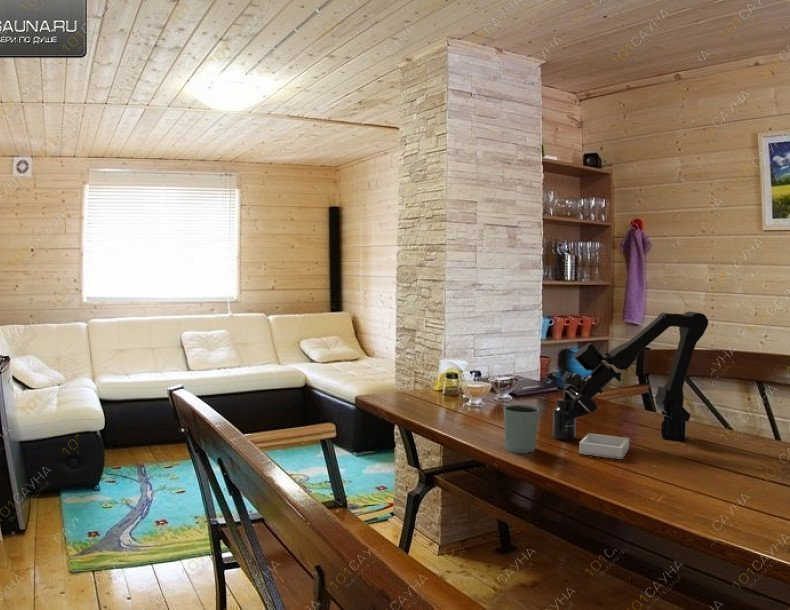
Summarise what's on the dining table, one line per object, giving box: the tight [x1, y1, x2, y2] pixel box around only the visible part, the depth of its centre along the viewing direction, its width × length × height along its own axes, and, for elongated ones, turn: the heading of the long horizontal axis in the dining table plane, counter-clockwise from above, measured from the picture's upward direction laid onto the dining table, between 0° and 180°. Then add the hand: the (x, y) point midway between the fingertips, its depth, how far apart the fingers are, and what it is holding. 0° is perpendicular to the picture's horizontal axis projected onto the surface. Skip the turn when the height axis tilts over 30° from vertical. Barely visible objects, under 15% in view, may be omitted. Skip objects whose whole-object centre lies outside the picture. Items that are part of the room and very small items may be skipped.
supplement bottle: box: [552, 397, 577, 441], centre depth 206 cm, size 7×7×12 cm
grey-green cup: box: [503, 404, 540, 454], centre depth 194 cm, size 10×10×12 cm
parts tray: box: [578, 432, 630, 460], centre depth 191 cm, size 12×12×4 cm
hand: (559, 416), depth 206 cm, fingers open, 9 cm apart
